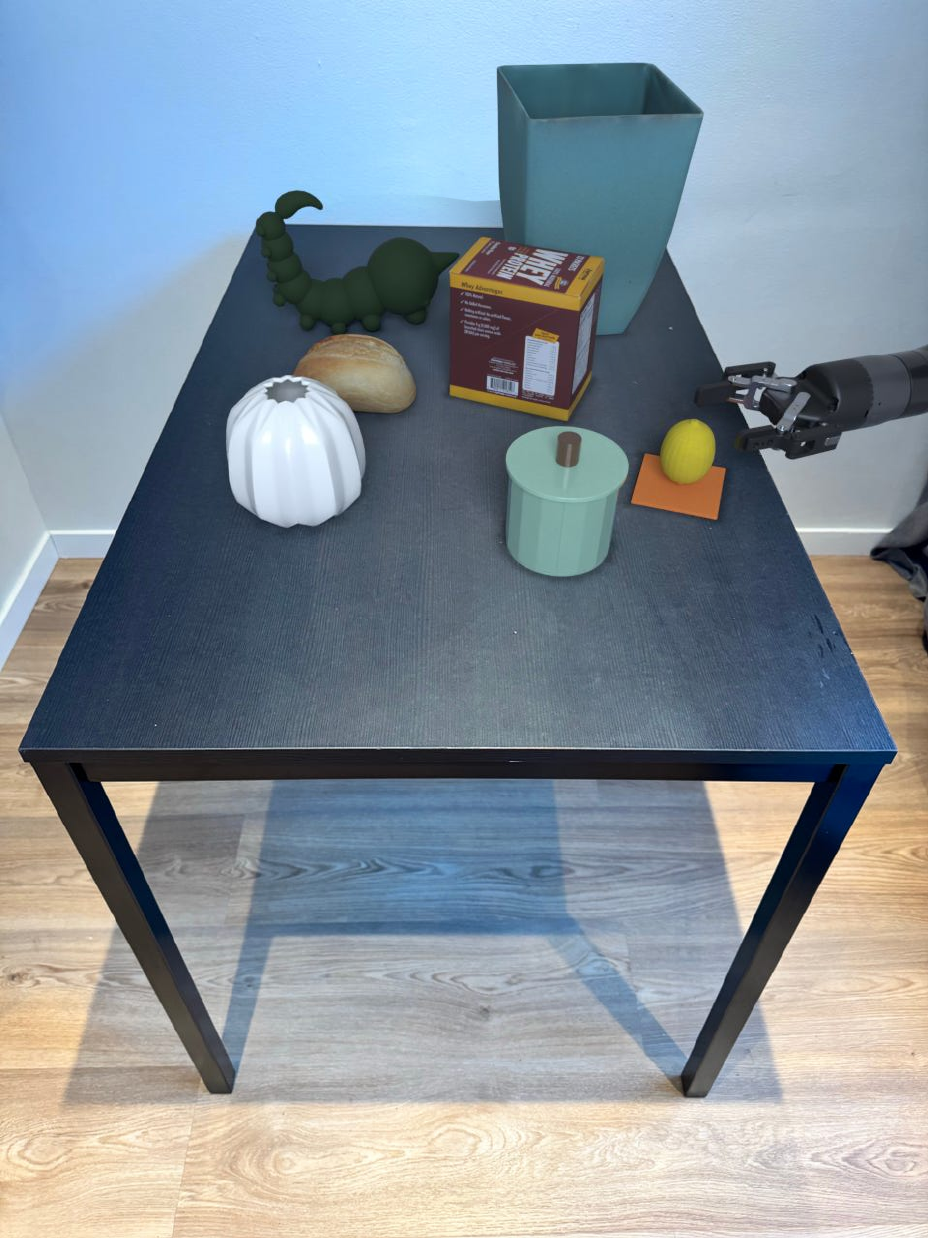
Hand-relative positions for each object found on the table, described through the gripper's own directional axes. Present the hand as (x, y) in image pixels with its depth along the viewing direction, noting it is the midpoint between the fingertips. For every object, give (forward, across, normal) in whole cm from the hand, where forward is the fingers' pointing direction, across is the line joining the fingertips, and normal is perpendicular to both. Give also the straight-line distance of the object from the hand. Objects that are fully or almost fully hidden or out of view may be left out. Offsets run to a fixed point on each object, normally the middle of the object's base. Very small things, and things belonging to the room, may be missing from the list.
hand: (716, 418), depth 90 cm
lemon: (+3, 0, +8) cm, 8 cm away
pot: (+19, +5, +8) cm, 21 cm away
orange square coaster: (+3, 0, +8) cm, 9 cm away
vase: (+42, -9, +8) cm, 44 cm away
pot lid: (+19, +5, -1) cm, 19 cm away
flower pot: (-1, -39, +8) cm, 40 cm away
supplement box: (+12, -24, +8) cm, 28 cm away
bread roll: (+33, -26, +8) cm, 43 cm away
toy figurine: (+26, -45, +8) cm, 53 cm away
